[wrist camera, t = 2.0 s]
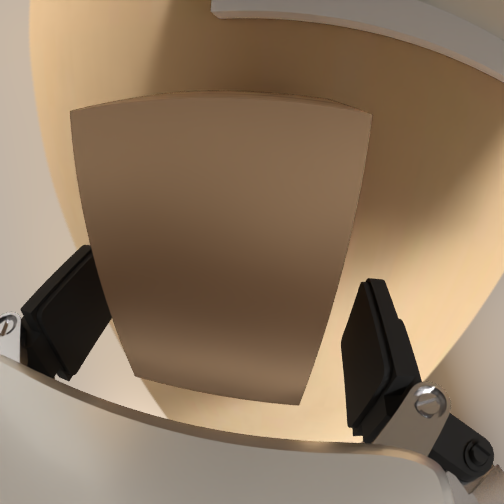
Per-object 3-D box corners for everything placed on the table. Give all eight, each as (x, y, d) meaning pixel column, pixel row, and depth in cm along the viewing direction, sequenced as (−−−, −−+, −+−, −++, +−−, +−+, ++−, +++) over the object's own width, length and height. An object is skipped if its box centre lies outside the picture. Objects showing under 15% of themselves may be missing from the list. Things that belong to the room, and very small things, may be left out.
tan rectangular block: (195, 90, 12) (69, 111, 5) (323, 97, 12) (372, 114, 4) (198, 253, 17) (136, 379, 10) (301, 265, 17) (297, 407, 9)
